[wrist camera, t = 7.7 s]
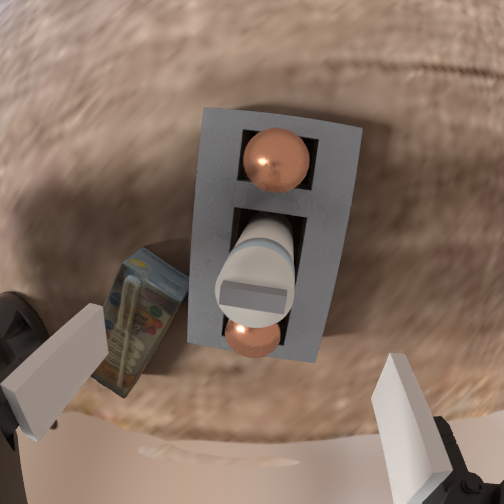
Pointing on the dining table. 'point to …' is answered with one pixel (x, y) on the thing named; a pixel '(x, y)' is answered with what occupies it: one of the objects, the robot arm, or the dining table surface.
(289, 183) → the plunger
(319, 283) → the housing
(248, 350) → the plunger
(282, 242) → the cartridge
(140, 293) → the beverage carton
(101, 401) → the dining table surface
